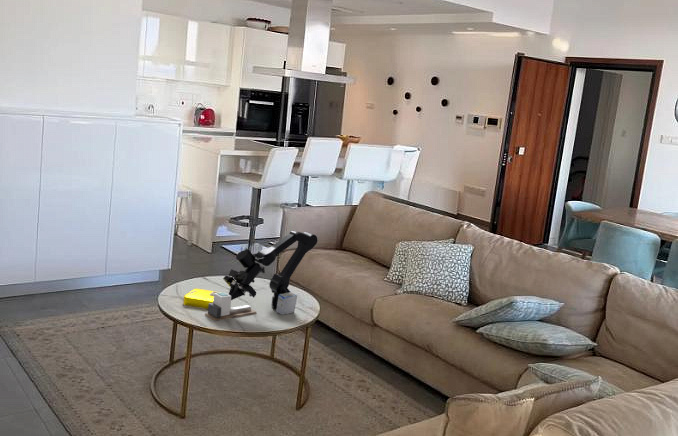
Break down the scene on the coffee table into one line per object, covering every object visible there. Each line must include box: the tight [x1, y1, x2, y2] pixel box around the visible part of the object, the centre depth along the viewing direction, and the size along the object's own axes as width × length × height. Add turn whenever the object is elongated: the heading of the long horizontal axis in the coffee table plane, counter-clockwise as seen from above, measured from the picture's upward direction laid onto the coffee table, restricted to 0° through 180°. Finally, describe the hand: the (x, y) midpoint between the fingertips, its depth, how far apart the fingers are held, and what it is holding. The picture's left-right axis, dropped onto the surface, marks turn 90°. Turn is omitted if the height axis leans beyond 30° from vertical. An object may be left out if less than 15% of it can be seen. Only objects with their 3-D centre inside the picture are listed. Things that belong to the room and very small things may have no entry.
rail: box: [207, 303, 252, 318], centre depth 305 cm, size 20×7×5 cm, turn 134°
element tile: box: [182, 287, 220, 310], centre depth 316 cm, size 15×15×5 cm
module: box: [213, 291, 232, 316], centre depth 301 cm, size 5×6×9 cm
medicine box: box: [275, 291, 298, 316], centre depth 316 cm, size 8×4×9 cm, turn 138°
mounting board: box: [204, 308, 257, 322], centre depth 305 cm, size 22×8×1 cm, turn 134°
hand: (227, 300), depth 302 cm, fingers closed
